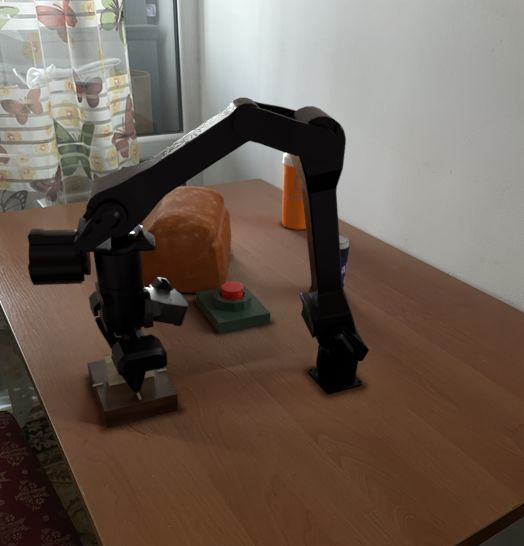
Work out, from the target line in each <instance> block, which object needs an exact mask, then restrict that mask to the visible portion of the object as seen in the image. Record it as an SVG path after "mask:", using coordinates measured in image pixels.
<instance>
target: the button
mask: <svg viewBox="0 0 524 546" xmlns="http://www.w3.org/2000/svg"><path fill="white" fill-rule="evenodd" d="M221 296H222V297H223V298H225V299H230V300H236V299H240V298H242V297H243V285H242V283H240V282H237V281H226V283H224V284H222V286H221Z"/></svg>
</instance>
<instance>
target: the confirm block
mask: <svg viewBox="0 0 524 546" xmlns="http://www.w3.org/2000/svg"><path fill="white" fill-rule="evenodd" d="M241 284H242V283H241ZM242 285H243V297H242V298H240V299H236V300H230V299H225V298H223V297H222V296H221V286H220V287H218V288H217V289H212V290H206V291H200V292H195V293H194V296H195V304H196V305H197V307H198V308H199V309H200V311H201V312H202V313H203V315H204V316H205V317H206V319H207V320H208V321H209V323H210V324H211V325H212V327H213V328H214V330H215V331H216V332H217V333H218V334H223V333H228V332H234V331H238V330H243V329H247V328H252V327H257V326H262V325H267V324H270V323H271V312H270V311H269V309H268V308H266V305H264V304H263V303H262V302H261V301H260V300H259V299H258V298H257V297H256V296H255V294H253V293H252V291H251V290H250V289H249V288H248V287H247V286H246V285H245V284H244V283H243V284H242Z"/></svg>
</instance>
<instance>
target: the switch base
mask: <svg viewBox="0 0 524 546" xmlns="http://www.w3.org/2000/svg"><path fill="white" fill-rule="evenodd" d="M86 364H87V369H88V374H89V375H88V377H89V381H90V384H91V386H92V389H93V392H94V395H95V398H96V401H97V404H98V406H99V409H100V412H101V415H102V418H103V420H104V423H105V426H106V428H107V429H111V428H114V427H118V426H121V425H125V424H130V423H134V422H137V421H142V420H147V419H149V418H153V417H157V416H161V415H165V414H169V413H172V412H176V411H179V407H178V394H177V392H176V389H175V387H174V385H173V384H172V382H171V380H170V378H169V377H168V374H167V373H166V371H168V369H167V368H160V369H156V370H154V376H152V377H148V378H144V381H143V384H142V388H141V390H140V391H136V392H133V391H132V389H131V388H130V387H129V385H128V384H127V382H126V383H121V384H117V385H112V386H109V384H108V381H107V378H106V371H105V364H104V359H100V360H95V361H91V362H87V363H86Z"/></svg>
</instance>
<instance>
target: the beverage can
mask: <svg viewBox="0 0 524 546" xmlns="http://www.w3.org/2000/svg"><path fill="white" fill-rule="evenodd" d="M339 239H340V254H341V269H342V284H343V289H344V288H345V287H344V286H345V280H346V274H347V268H348V260H349V253H350V242H349V237H348V236H346V235H345V234H343V233H339Z"/></svg>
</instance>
